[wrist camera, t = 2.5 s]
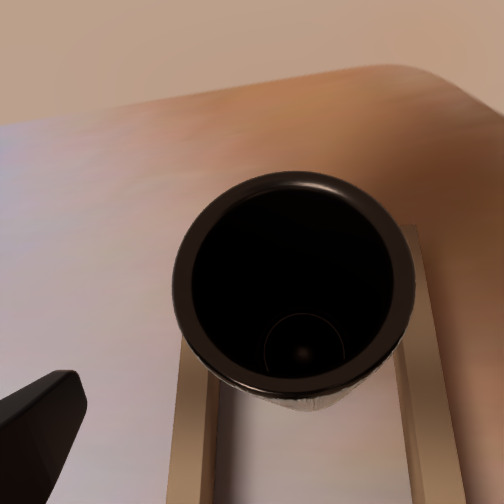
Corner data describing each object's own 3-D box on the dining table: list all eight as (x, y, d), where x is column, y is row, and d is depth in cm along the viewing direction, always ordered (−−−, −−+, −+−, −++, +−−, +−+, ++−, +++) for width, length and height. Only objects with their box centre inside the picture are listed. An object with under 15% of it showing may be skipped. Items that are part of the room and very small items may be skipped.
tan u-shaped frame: (471, 646, 12) (499, 687, 10) (174, 613, 13) (152, 644, 11) (405, 244, 17) (416, 224, 16) (203, 253, 19) (191, 236, 17)
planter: (233, 339, 17) (132, 243, 8) (316, 285, 17) (316, 132, 8) (289, 434, 15) (246, 462, 6) (380, 371, 15) (479, 300, 6)
